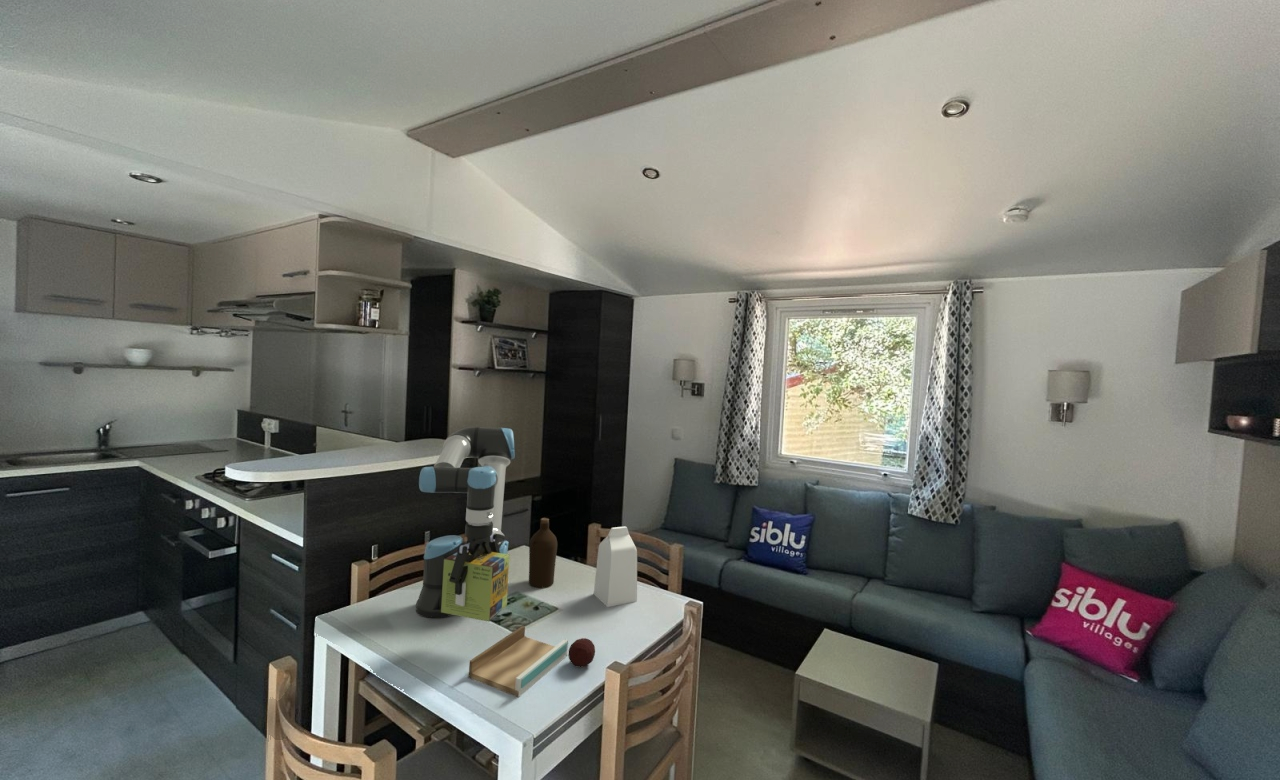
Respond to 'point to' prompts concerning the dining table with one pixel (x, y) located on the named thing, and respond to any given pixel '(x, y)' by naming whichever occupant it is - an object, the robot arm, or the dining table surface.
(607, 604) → the milk
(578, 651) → the dark red ball
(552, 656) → the rail
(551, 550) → the olive oil
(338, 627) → the dining table surface
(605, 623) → the dining table surface
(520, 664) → the shelf board
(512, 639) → the back lip
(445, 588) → the protein box
